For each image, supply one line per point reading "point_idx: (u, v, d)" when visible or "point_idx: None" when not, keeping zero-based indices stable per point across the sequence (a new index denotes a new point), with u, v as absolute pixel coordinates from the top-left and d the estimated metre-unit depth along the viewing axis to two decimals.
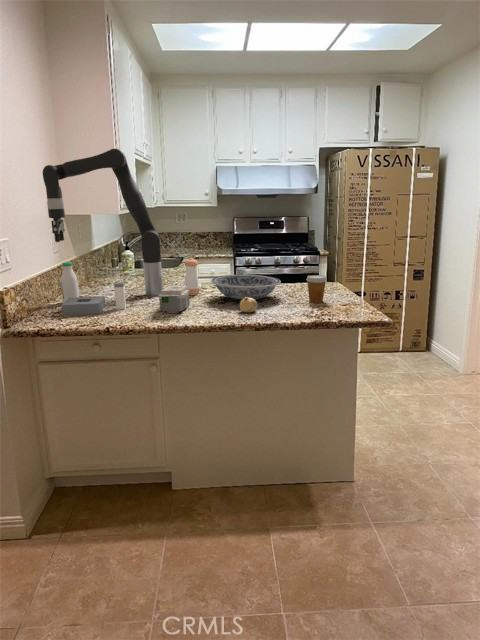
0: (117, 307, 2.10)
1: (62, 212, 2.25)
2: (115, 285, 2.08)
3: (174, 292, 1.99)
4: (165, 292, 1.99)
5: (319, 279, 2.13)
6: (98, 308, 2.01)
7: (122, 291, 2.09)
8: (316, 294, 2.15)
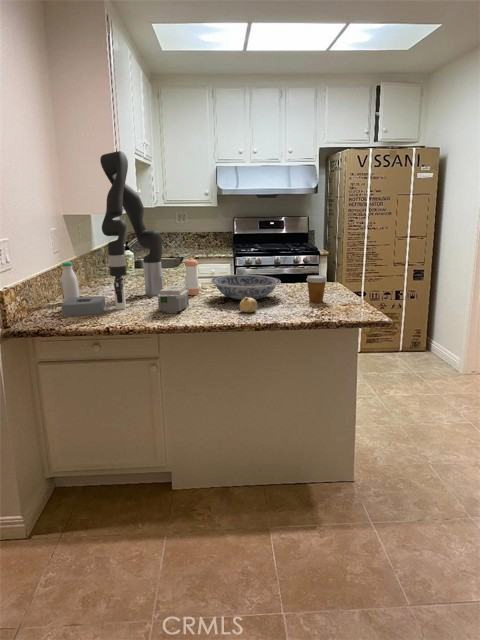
0: (117, 307, 2.10)
1: (124, 269, 2.07)
2: None
3: (173, 292, 1.99)
4: (164, 292, 1.99)
5: (319, 279, 2.13)
6: (98, 308, 2.01)
7: (122, 291, 2.09)
8: (316, 294, 2.15)
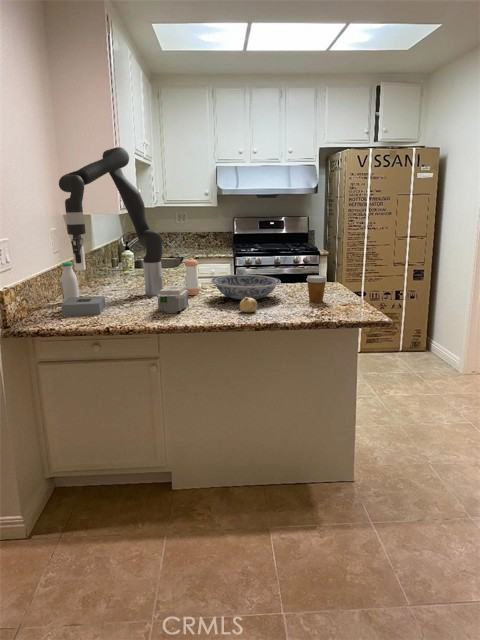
0: (76, 268, 2.01)
1: (83, 228, 1.98)
2: None
3: (173, 292, 1.99)
4: (164, 292, 1.99)
5: (319, 279, 2.13)
6: (98, 308, 2.01)
7: (81, 251, 2.00)
8: (316, 294, 2.15)
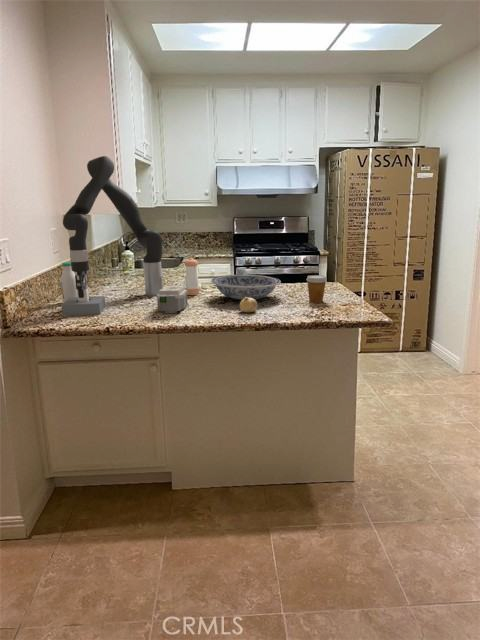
0: None
1: (86, 265, 2.02)
2: None
3: (172, 292, 1.99)
4: (163, 292, 1.99)
5: (319, 279, 2.13)
6: (98, 308, 2.01)
7: (85, 293, 2.05)
8: (316, 294, 2.15)
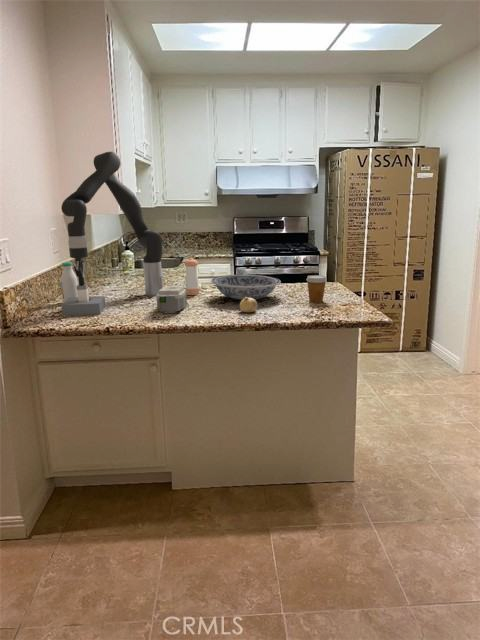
0: None
1: (85, 251, 2.00)
2: (78, 287, 2.04)
3: (172, 292, 1.99)
4: (163, 292, 1.99)
5: (319, 279, 2.13)
6: (98, 308, 2.01)
7: (85, 294, 2.05)
8: (316, 294, 2.15)
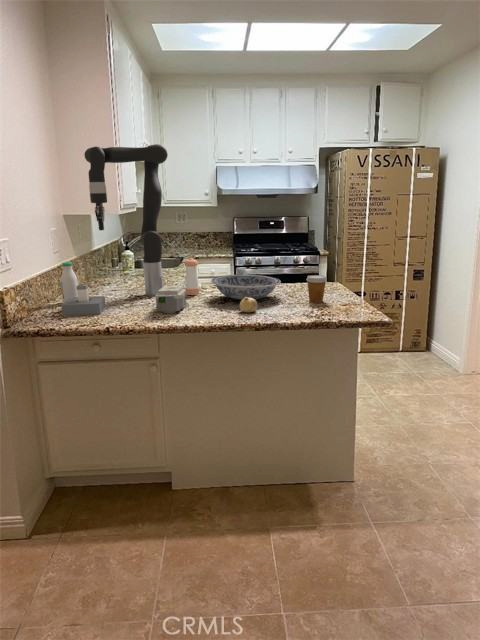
0: None
1: (105, 197, 2.13)
2: (78, 287, 2.04)
3: (171, 292, 1.99)
4: (162, 292, 1.99)
5: (319, 279, 2.13)
6: (98, 308, 2.01)
7: (85, 293, 2.05)
8: (316, 294, 2.15)
